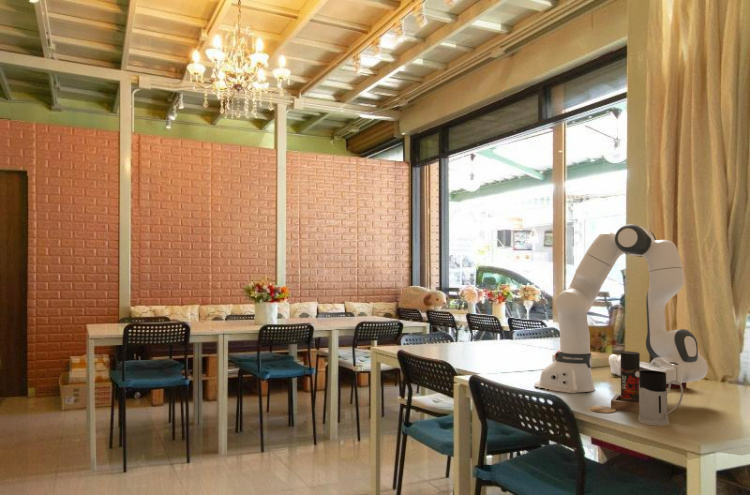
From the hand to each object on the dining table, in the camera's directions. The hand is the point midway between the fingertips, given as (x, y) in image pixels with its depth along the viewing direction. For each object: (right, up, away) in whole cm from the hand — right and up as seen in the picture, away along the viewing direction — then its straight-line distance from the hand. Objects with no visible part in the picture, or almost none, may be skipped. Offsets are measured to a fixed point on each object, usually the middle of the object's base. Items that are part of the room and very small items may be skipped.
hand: (627, 372), depth 199 cm
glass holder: (+2, -12, -20) cm, 23 cm away
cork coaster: (-10, -12, -3) cm, 16 cm away
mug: (+32, -13, +35) cm, 49 cm away
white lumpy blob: (+23, -14, +61) cm, 67 cm away
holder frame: (+1, -12, 0) cm, 12 cm away
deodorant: (+1, -9, 0) cm, 9 cm away
